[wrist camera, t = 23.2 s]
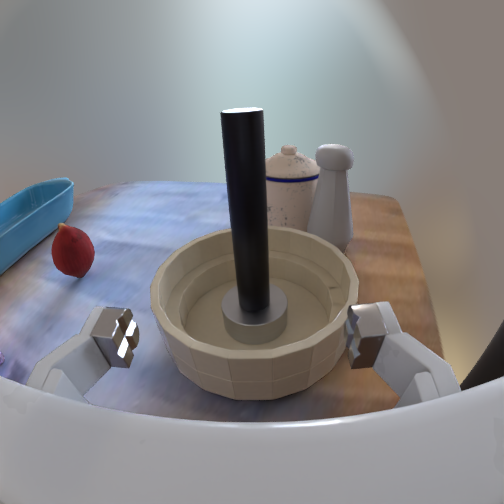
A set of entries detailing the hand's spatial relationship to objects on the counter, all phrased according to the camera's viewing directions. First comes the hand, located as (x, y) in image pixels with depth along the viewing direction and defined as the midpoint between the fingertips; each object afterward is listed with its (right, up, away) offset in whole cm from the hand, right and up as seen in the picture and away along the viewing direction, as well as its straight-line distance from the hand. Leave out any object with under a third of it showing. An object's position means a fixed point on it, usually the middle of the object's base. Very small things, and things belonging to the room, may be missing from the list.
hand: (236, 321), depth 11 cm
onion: (-22, -1, +24) cm, 33 cm away
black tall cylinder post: (+1, -4, +16) cm, 16 cm away
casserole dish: (-47, +3, +33) cm, 57 cm away
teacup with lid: (+4, +6, +32) cm, 33 cm away
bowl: (+1, -4, +16) cm, 17 cm away
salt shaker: (+10, +3, +27) cm, 29 cm away
